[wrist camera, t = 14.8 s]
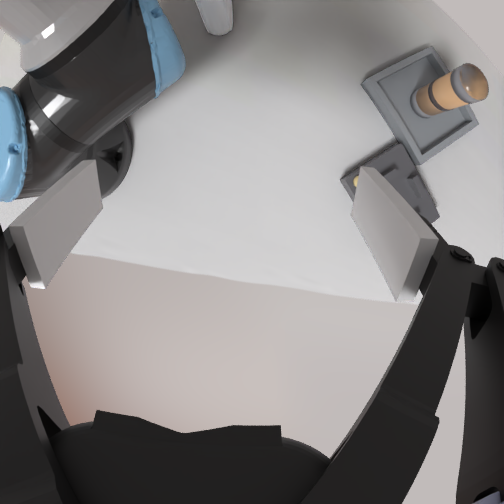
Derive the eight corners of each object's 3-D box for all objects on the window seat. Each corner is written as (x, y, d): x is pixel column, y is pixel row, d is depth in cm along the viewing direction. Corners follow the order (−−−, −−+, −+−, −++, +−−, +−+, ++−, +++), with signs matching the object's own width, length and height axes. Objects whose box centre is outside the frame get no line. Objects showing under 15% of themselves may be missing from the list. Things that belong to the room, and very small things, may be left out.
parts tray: (360, 84, 40) (366, 78, 37) (423, 51, 38) (431, 45, 35) (411, 165, 42) (420, 164, 39) (469, 126, 40) (479, 123, 37)
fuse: (404, 96, 39) (452, 70, 25) (424, 85, 38) (474, 58, 25) (420, 123, 40) (473, 106, 26) (440, 111, 39) (494, 93, 25)
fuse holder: (339, 179, 43) (348, 179, 38) (393, 145, 42) (406, 141, 37) (380, 250, 45) (392, 257, 40) (430, 214, 43) (446, 218, 39)
